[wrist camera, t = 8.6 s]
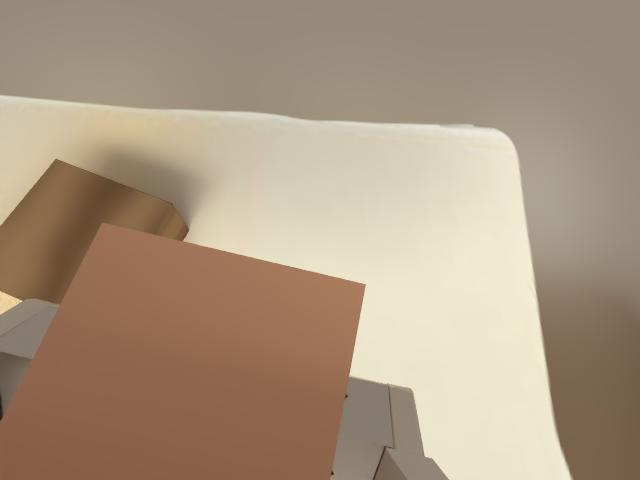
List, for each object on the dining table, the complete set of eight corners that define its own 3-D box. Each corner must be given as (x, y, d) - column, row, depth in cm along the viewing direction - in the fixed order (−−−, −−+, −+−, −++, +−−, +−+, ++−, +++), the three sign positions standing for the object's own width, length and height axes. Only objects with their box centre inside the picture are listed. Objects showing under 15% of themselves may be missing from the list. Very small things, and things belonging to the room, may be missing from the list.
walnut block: (12, 294, 30) (-39, 273, 26) (88, 192, 34) (55, 159, 29) (124, 342, 29) (92, 330, 25) (189, 231, 33) (172, 203, 28)
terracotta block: (154, 461, 13) (-65, 550, 5) (203, 321, 15) (101, 222, 7) (294, 496, 13) (299, 645, 5) (325, 350, 15) (365, 284, 7)
